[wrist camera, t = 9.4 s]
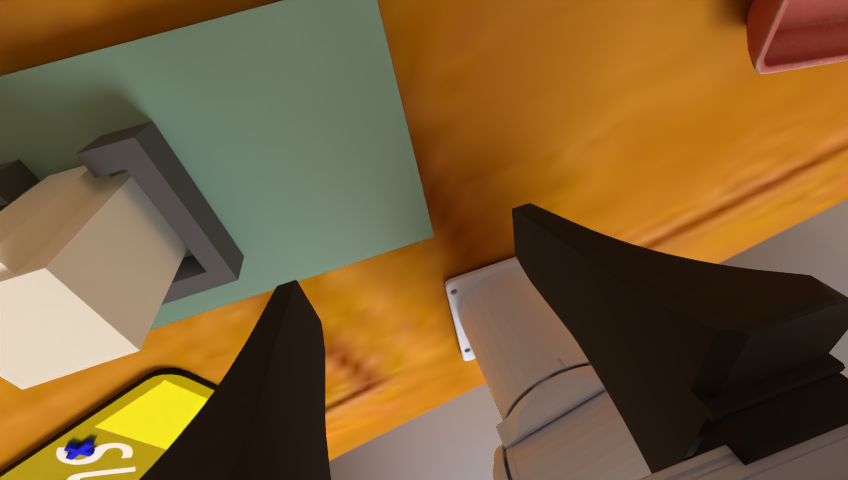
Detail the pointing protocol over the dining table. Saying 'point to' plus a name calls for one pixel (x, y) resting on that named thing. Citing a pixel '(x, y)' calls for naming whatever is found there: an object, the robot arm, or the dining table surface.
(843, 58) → the plant saucer
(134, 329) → the keyed plug
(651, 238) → the dining table surface
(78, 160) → the board
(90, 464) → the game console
